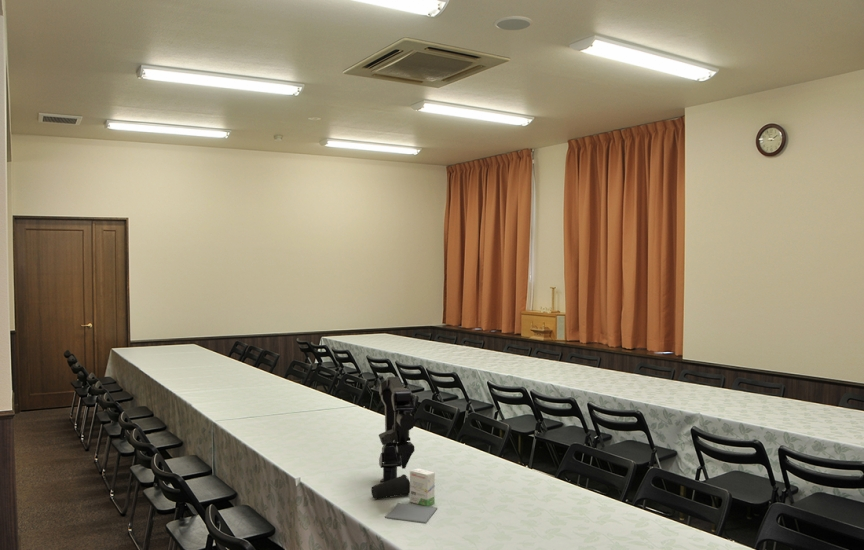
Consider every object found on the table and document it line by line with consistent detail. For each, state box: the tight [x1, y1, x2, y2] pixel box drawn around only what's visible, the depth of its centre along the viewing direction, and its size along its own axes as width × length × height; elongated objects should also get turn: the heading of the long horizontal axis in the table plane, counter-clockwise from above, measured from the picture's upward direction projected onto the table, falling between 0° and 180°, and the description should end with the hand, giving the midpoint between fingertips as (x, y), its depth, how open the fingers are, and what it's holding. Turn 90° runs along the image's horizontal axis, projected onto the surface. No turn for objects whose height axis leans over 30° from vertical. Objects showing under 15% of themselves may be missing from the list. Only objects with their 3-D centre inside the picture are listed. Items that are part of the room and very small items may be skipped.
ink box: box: [409, 467, 436, 507], centre depth 237 cm, size 8×5×12 cm, turn 52°
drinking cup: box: [371, 474, 410, 501], centre depth 245 cm, size 8×8×20 cm
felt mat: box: [384, 502, 438, 524], centre depth 226 cm, size 14×15×1 cm
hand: (401, 464), depth 240 cm, fingers open, 9 cm apart
